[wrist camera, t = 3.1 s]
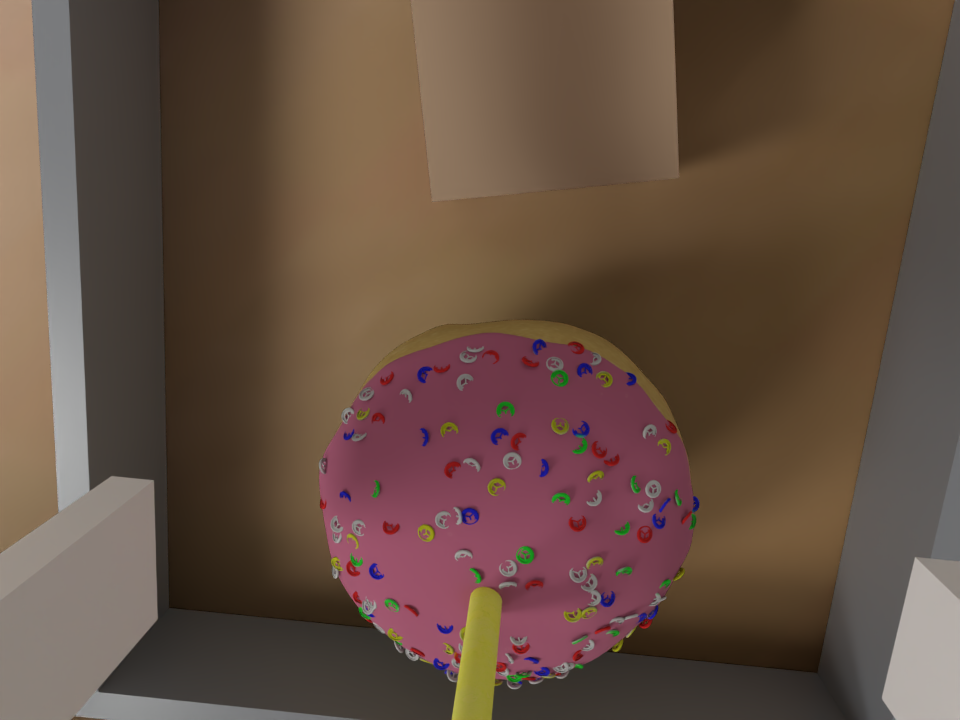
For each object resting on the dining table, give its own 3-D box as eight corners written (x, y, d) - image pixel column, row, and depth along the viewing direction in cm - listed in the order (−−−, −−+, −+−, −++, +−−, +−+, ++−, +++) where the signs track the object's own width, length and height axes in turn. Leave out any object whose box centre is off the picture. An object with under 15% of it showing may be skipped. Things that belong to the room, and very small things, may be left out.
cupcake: (608, 604, 22) (706, 1056, 11) (334, 536, 22) (130, 914, 11) (694, 333, 20) (931, 521, 9) (395, 257, 20) (228, 344, 9)
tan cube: (453, 199, 20) (432, 201, 15) (433, 0, 19) (403, -66, 14) (639, 181, 20) (679, 178, 15) (630, -23, 19) (669, -98, 14)
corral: (144, 628, 23) (69, 715, 19) (125, -143, 18) (19, -233, 15) (839, 698, 23) (906, 803, 19) (1006, -85, 18) (1143, -163, 14)
